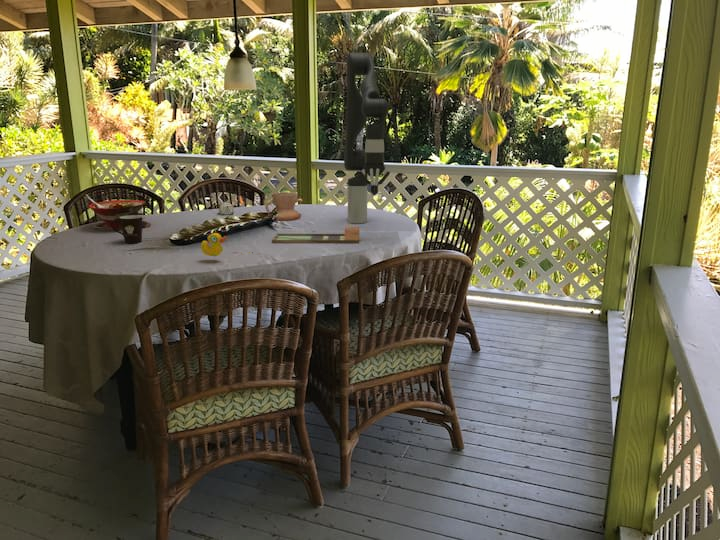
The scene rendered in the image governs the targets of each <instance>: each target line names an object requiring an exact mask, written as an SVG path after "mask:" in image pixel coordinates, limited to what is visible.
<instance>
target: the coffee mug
mask: <svg viewBox="0 0 720 540" xmlns="http://www.w3.org/2000/svg"><path fill="white" fill-rule="evenodd" d="M119 218H120V221H118V220H114V221H112V222H111V227H112V228H113V229H114V230H113V229H112V230H113V231H114V232H117V233H119V234H121V235H122V236H123V241H124V243H126V244H136V243H141V242H142V241H143V227H142V221H143V220H142V219H143V215H137V214H136V215H129V216H122V217H119ZM113 222H119V223H120V225H121V227H122V229H121V230H122V231H120V230H116V229H115V228H114V227H113V226H112V224H113Z"/></svg>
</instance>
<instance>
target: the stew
mask: <svg viewBox="0 0 720 540" xmlns="http://www.w3.org/2000/svg"><path fill="white" fill-rule="evenodd" d="M85 195H86V197H87V199H88V200H89V201H90V202H91V204H89V205H88V208H89V209H90V210H92V211H93V212H94V213H95V214H96V215H97V216H98V218H100V220H101V221H102V222H101V223H98V224H95V225H93V227H94V228H95V229H103V230H113V231H115V230H114V229H113V228H112V227H111V222H112V221H114V220H118V221H120V218H119V217H122V216H129V215H137V214H138V212H140V211H141V209H142V208H143V207H144V206H145V204H146V201H145V200H137V199H128V198H127V199H124V198H123V199H113V200H105V201H102V202H96V201H94V200H93V199H92V197H90V196H89V195H88V194H85ZM145 218H146V217H145V216H143V218H142V228H144V229H147V228H148V229H149V228H150V225H151V222H150V221H147V220H144V219H145ZM105 225H107V227H104V226H105ZM112 226H113V227H114V228H115V229H116V230H118V231H120V230H122V227H121V225H120V223H119V222H113V224H112Z"/></svg>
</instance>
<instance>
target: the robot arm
mask: <svg viewBox="0 0 720 540" xmlns="http://www.w3.org/2000/svg"><path fill="white" fill-rule="evenodd" d="M375 69H376V68H375V63H374V57H373V55H372V54H371V53H370V52H354V51H353V52H349V53H348V54H347V57H346V107H345V108H346V109H345V110H346V111H345V126H346V127H345V143H344V144H345V145H344V158H343V163H344V164H343V165H344V169H345V170H346V171H359V172H358V174H357V175H355V176H353V177H350V178H348V179H347V223H350V224H366V223H367V222H368V185H369V186H370V194H372V195H373V196H376V195H377V194H378V193H379V185H382V184H383V183H384V182H385V181H386V179H387V178H389V175H390V174H391V172H390V171H388V169H386V166H385V143H384V138H385V137H384V136H385V133H384V131H385V123H386V119H387V116H388V113H389V108H390V107H389V106H390V105H389V103H388V100H387V99H385V98H381V95H380V94H381V93H380V91H379V86H378V84H377V80H376V79H377V78H376V76H377V75H376V70H375ZM356 76H362V77H363V76H364V78H363V80H362V81H361V83H360V87H359V88H358V86H357V84H356V83H357V82H356ZM359 89H360V90H359ZM367 118H378V119H377V120H376V122H373V123H369V124H367V121H368V119H367ZM366 124H367V125H366ZM364 127H365V139H366V140H365V145H364V149H353V147H354V144H355V142H356V140H357V138H358V137H359V135H360V134H361V132H362V131H363V129H364ZM382 174H383V176H382ZM380 176H382V177H381V178H380V179H379V177H380ZM368 177H370V180H369V178H368Z"/></svg>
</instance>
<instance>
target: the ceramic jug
mask: <svg viewBox="0 0 720 540" xmlns="http://www.w3.org/2000/svg"><path fill="white" fill-rule="evenodd" d="M271 197H272V199H268V200H267V201H266V202H265V204H264V205H265V210H266V212H267V214H268V215H269V213H271V211H270V209H269V204H273V205H274V206H275V208H276V209H274V211H276V212H277V213H278V216H277V219H276V220H275V221H278V222H291V221H297V220H300V219H301V216H302V214H301V213H300V212H299V211H298V210H296V209H295V206H296V204H297V203H299V202H301V203H302V202H303V199H302V198H298V193H297V192H293V191H290V192H288V191H287V192H286V191H284V192H283V191H282V192H272V193H271Z"/></svg>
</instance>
